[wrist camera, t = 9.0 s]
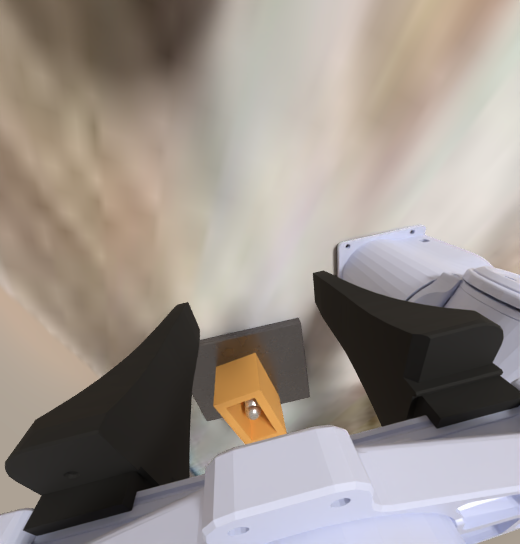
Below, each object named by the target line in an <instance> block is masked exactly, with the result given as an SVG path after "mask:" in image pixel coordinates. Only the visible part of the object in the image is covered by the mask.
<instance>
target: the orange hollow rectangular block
mask: <svg viewBox="0 0 520 544" xmlns="http://www.w3.org/2000/svg"><path fill="white" fill-rule="evenodd" d="M253 398H255V399H256V401H257V402H258V404H259V405H260V407H261V414H260V416H259V418H258V419H256V420H250V419H249V418H248V417H247V416H246V413H245V401H247V400H250V399H253ZM213 406H214V407H215V409H216V410H217V411H218V412H219V413H220V415H221V416H222V417H223V418H224V419H225V421H226V422H227V423H228V424H229V425H230V427H231V428H232V429H233V430H234V431H235V433H236V434H237V435H238V436H239V437H240V439H241V440H242V441H243V442H244V443H245V445H246V444H249V443H253V442H257V441H261V440H265V439H269V438H272V437H276V436H280V435H284V434H287V432H286V428H285V423H284V418H283V413H282V408H281V403H280V399H279V395H278V393H277V391H276V390H275V388H274V386H273V384H272V382H271V380H270V379H269V377H268V375H267V373H266V371H265V369H264V368H263V366H262V364H261V362H260V360H259V358H258V357H257V355H256V353H253V354H250V355H248V356H245V357H242V358H239V359H237V360H234V361H231V362H228V363H226V364H223V365H220V366H217V367H216V376H215V390H214V403H213Z"/></svg>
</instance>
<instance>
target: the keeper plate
mask: <svg viewBox="0 0 520 544" xmlns="http://www.w3.org/2000/svg"><path fill="white" fill-rule="evenodd" d="M253 353H256V355H257V357H258V358H259V360H260V362H261V364H262V366H263V368H264V369H265V371H266V373H267V375H268V377H269V379H270V380H271V382H272V384H273V386H274V388H275V390H276V391H277V393H278V395H279V399H280V403H281V404H282V403H287V402H291V401H295V400H299V399H304V398H308V397H310V395H309V386H308V378H307V370H306V362H305V354H304V346H303V337H302V329H301V323H300V320H299V318H296V319H291V320H287V321H283V322H278V323H274V324H269V325H265V326H261V327H256V328H252V329H247V330H243V331H239V332H234V333H230V334H226V335H221V336H217V337H212V338H208V339H204V340H200V342H199V351H198V357H197V363H196V369H195V375H194V381H193V388H192V394H193V396H194V398H195V400H196V402H197V403H198V405H199V407H200V409H201V411H202V413H203V414H204V416H205V418H206V420H207V421H211V420H215V419H219V418H223V417H222V416H221V415H220V413H219V412H218V411H217V410H216V409H215V407H214V406H213V403H214V390H215V376H216V367H217V366H220V365H223V364H226V363H228V362H231V361H234V360H237V359H239V358H242V357H245V356H248V355H250V354H253ZM245 413H246V416H247V417H248V418H249V419H250V420H256V419H258V418H259V416H260V414H261V407H260V405H259V404H258V402H257V401H256V399H255V398H253V399H250V400H247V401H245Z"/></svg>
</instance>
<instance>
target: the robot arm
mask: <svg viewBox="0 0 520 544" xmlns="http://www.w3.org/2000/svg"><path fill="white" fill-rule="evenodd" d="M411 230H412V232H411ZM425 230H426V227H425V226H424V225H417V226H412V227H407V228H403V229H398V230H394V231H389V232H385V233H380V234H376V235H371V236H367V237H362V238H358V239H353V240H348V241H344V242H341V243H339V244H338V246H337V264H338V277H336V276H334V275H332V274H330V273H328V272H325V271H320V272H315V273H313V281H314V295H315V303H316V305H317V307H318V309H319V311H320V313H321V315H322V317H323V319H324V320H325V322H326V323H327V325H328V326H329V328H330V329H331V331H332V332H333V334H334V335H335V337H336V338H337V340H338V341H339V343H340V344H341V346H342V347H343V349H344V350H345V352H346V354H347V356H348V358H349V359H350V361H351V363H352V365H353V367H354V369H355V371H356V373H357V375H358V377H359V379H360V381H361V383H362V385H363V387H364V389H365V391H366V393H367V395H368V397H369V399H370V402H371V404H372V406H373V408H374V410H375V412H376V414H377V417H378V419H379V421H380V423H381V426H382V427H379V428H376V429H372V430H368V431H364V432H360V433H357V434H353V435H349V434H348V432H347V430H345V429H343V428H340V427H337V426H333V425H324V426H315V427H310V428H307V429H303V430H299V431H295V432H291V433H288V434H284V435H280V436H276V437H272V438H269V439H265V440H261V441H257V442H253V443H249V444H246V445H242V446H238V447H234V448H232V449H229V450H227V451H224V452H222V453H220V454H218V455H217V456H216V457H215V458H214V459H213V460H212V461H211V462H210V463H209V464H208V465H207V466H206V469H205V474H202V475H199V476H195V477H191V478H189V448H190V415H191V398H192V388H193V381H194V375H195V369H196V363H197V357H198V351H199V342H200V329H199V326H198V324H197V322H196V319H195V317H194V315H193V312H192V310H191V308H190V305H189V303H188V302H187V303H183V304H178V305H177V306H176V307H175V308H174V309H173V310H172V311H171V312H170V313H169V314H168V315H167V317H166V318H165V319H164V320H163V321H162V322H161V323H160V324H159V326H158V327H157V328H156V329H155V330H154V331H153V332H152V333H151V334H150V335H149V336H148V337H147V338H146V339H145V340H144V341H143V342H142V343H141V344H140V345H139V346H138V347H137V348H136V349H135V350H134V351H133V352H132V353H131V354H130V355H129V356H127V357H126V358H125V359H124V360H123V361H122V362H120V363H119V364H118V365H117V366H115V367H114V368H113V369H111V370H110V371H109V372H108V373H106V374H105V375H104V376H103V377H101V378H100V379H99V380H97V381H96V382H94V383H93V384H91V385H90V386H89V387H87V388H86V389H84V390H83V391H81V392H80V393H78V394H77V395H75V396H74V397H72V398H71V399H69V400H68V401H66V402H64V403H63V404H61V405H59V406H58V407H56V408H55V409H53V410H51V411H50V412H48V413H46V414H45V415H43V416H41V417H40V418H38V419H37V420H35V421H34V423H33V424H32V426H31V427H30V428H29V430H28V431H27V433H26V434H25V435H24V437H23V438H22V439H21V441H20V442H19V444H18V445H17V446H16V448H15V449H14V451H13V452H12V453H11V455H10V456H9V457H8V459H7V460H6V462H5V470H6V472H7V474H8V475H9V477H11V478H12V479H13V480H15V481H16V482H18V483H20V484H22V485H23V486H25V487H27V488H29V489H31V490H33V491H34V492H36V493H38V494H40V495H42V496H41V498H40V500H39V501H38V504H37V505H36V507H35V509H33V508H24V509H18V510H15V511H11V512H7V513H3V514H0V544H477V543H480V542H482V541H485V540H488V539H491V538H493V537H497V536H499V535H502V534H505V533H508V532H510V531H514V530H516V529H519V528H520V275H519V274H515V273H512V272H509V271H506V270H502V269H498V268H494V267H493V266H492V265H491V264H490V263H489V262H488V261H487V260H485V259H484V258H483V257H481V256H479V255H477V254H475V253H473V252H470V251H467V250H465V249H462V248H459V247H457V246H454V245H451V244H449V243H446V242H443V241H441V240H438V239H435V238H433V237H430V236H427V235H425ZM410 232H411V233H410ZM347 244H349V245H348V247H346V245H347Z"/></svg>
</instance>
